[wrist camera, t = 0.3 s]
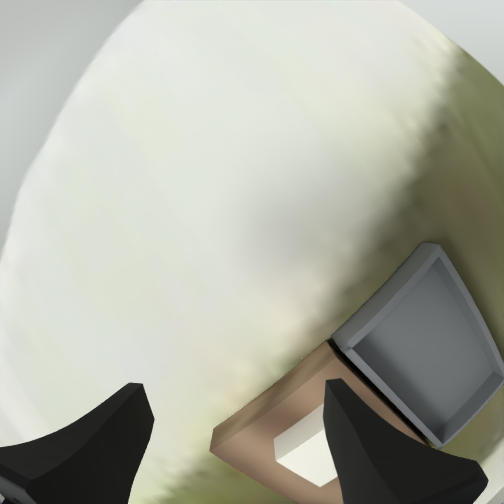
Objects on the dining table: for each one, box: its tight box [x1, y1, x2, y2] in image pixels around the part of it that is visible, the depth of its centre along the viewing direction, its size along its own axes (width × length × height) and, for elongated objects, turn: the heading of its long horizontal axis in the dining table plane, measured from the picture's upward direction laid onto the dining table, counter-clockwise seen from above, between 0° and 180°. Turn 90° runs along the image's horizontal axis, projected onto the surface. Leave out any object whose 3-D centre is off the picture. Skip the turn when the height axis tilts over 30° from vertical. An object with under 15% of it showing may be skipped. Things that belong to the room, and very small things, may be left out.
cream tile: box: [274, 403, 338, 487], centre depth 18 cm, size 5×5×2 cm
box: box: [331, 242, 504, 450], centre depth 20 cm, size 10×18×2 cm, turn 44°
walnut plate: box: [209, 341, 431, 504], centre depth 21 cm, size 12×18×3 cm, turn 44°
